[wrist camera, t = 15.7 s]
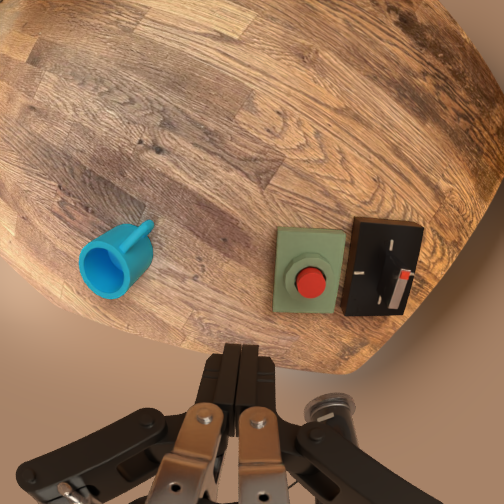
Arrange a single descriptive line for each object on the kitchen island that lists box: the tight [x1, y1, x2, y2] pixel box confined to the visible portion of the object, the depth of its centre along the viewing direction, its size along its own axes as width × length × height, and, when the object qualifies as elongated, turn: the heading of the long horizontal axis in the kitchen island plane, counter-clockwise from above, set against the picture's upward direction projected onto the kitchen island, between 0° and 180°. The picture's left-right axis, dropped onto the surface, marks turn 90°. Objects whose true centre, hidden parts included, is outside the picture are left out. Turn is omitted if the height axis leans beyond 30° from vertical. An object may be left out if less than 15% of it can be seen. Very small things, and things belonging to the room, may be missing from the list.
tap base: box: [340, 217, 424, 316], centre depth 38 cm, size 14×10×3 cm
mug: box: [79, 220, 154, 299], centre depth 36 cm, size 12×8×8 cm
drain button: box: [296, 267, 326, 298], centre depth 36 cm, size 4×4×2 cm
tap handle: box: [376, 255, 411, 309], centre depth 34 cm, size 6×2×5 cm, turn 174°
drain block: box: [272, 227, 346, 313], centre depth 38 cm, size 12×9×4 cm
